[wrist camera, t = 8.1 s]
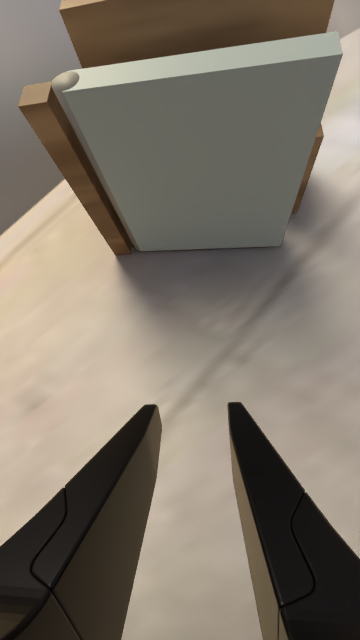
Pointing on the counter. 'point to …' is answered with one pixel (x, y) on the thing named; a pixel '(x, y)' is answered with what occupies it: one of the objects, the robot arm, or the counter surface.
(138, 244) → the grey square panel
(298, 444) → the counter surface
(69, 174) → the stool frame
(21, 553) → the robot arm
